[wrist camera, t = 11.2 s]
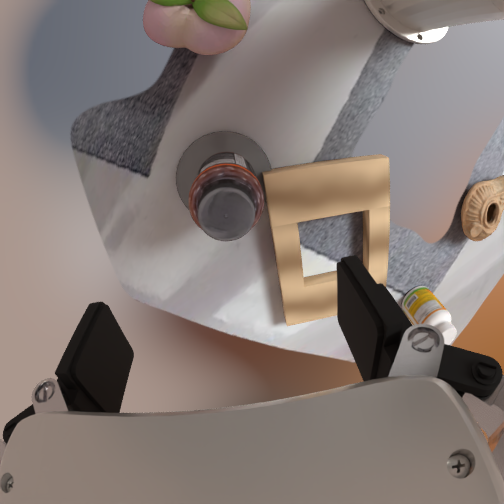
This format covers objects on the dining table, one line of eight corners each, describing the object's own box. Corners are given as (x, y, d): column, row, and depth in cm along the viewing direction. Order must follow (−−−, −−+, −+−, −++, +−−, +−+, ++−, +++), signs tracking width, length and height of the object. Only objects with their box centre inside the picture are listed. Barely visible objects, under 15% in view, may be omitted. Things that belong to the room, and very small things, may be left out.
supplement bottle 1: (255, 204, 32) (269, 254, 22) (199, 206, 31) (187, 257, 21) (254, 149, 29) (270, 173, 19) (195, 151, 29) (178, 177, 19)
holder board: (261, 170, 31) (263, 175, 29) (380, 154, 31) (388, 157, 29) (284, 316, 40) (287, 326, 38) (378, 294, 40) (384, 302, 38)
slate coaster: (167, 143, 28) (166, 144, 28) (262, 123, 28) (263, 123, 28) (189, 229, 33) (189, 232, 33) (277, 212, 33) (278, 214, 33)
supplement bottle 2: (426, 306, 42) (456, 345, 34) (399, 316, 43) (427, 358, 34) (430, 280, 40) (464, 318, 31) (402, 290, 40) (433, 332, 32)
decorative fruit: (260, 5, 22) (275, -33, 13) (232, 70, 26) (235, 53, 17) (175, -15, 20) (156, -56, 11) (146, 49, 23) (112, 28, 15)
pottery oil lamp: (507, 194, 34) (526, 228, 30) (450, 216, 39) (466, 253, 35) (511, 156, 28) (535, 192, 24) (447, 180, 33) (467, 220, 29)
